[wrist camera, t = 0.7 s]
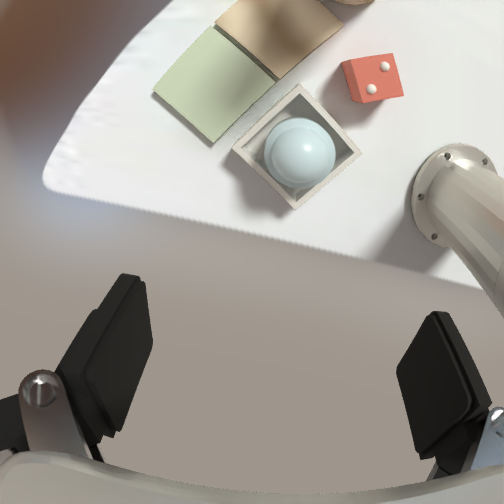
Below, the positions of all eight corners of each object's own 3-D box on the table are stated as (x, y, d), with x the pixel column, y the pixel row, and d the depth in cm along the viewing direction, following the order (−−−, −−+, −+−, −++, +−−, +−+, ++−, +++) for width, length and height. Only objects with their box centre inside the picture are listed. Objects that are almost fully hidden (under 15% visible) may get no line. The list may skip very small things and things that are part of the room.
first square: (278, -30, 20) (278, -32, 20) (342, 26, 23) (344, 25, 22) (215, 23, 24) (214, 22, 23) (279, 79, 26) (279, 79, 26)
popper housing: (298, 84, 26) (300, 83, 24) (356, 147, 29) (362, 153, 27) (235, 142, 30) (231, 147, 28) (294, 200, 33) (295, 210, 30)
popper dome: (299, 103, 25) (304, 107, 21) (343, 151, 27) (356, 165, 23) (251, 147, 28) (246, 160, 23) (296, 191, 30) (299, 212, 25)
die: (378, 56, 24) (394, 52, 20) (389, 93, 26) (405, 96, 22) (341, 62, 25) (351, 59, 21) (352, 100, 27) (364, 103, 23)
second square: (212, 27, 24) (210, 25, 23) (275, 82, 27) (275, 82, 26) (154, 88, 27) (151, 89, 27) (214, 141, 30) (213, 143, 29)
